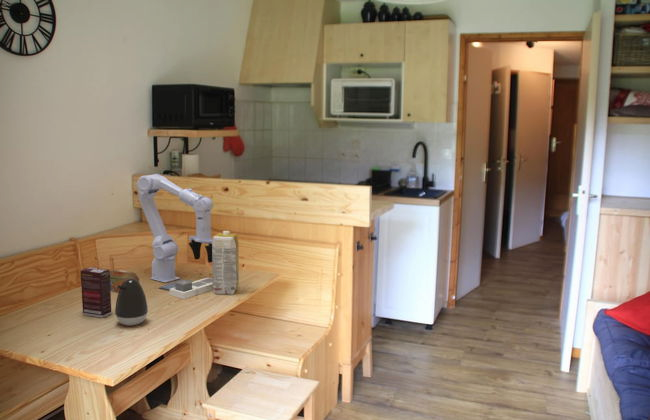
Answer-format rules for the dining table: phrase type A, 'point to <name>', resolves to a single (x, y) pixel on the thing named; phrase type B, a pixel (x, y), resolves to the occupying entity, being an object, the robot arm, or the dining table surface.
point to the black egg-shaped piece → (131, 303)
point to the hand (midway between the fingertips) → (203, 260)
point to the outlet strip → (194, 288)
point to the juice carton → (225, 263)
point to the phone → (171, 285)
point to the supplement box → (96, 292)
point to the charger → (183, 286)
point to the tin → (120, 278)
